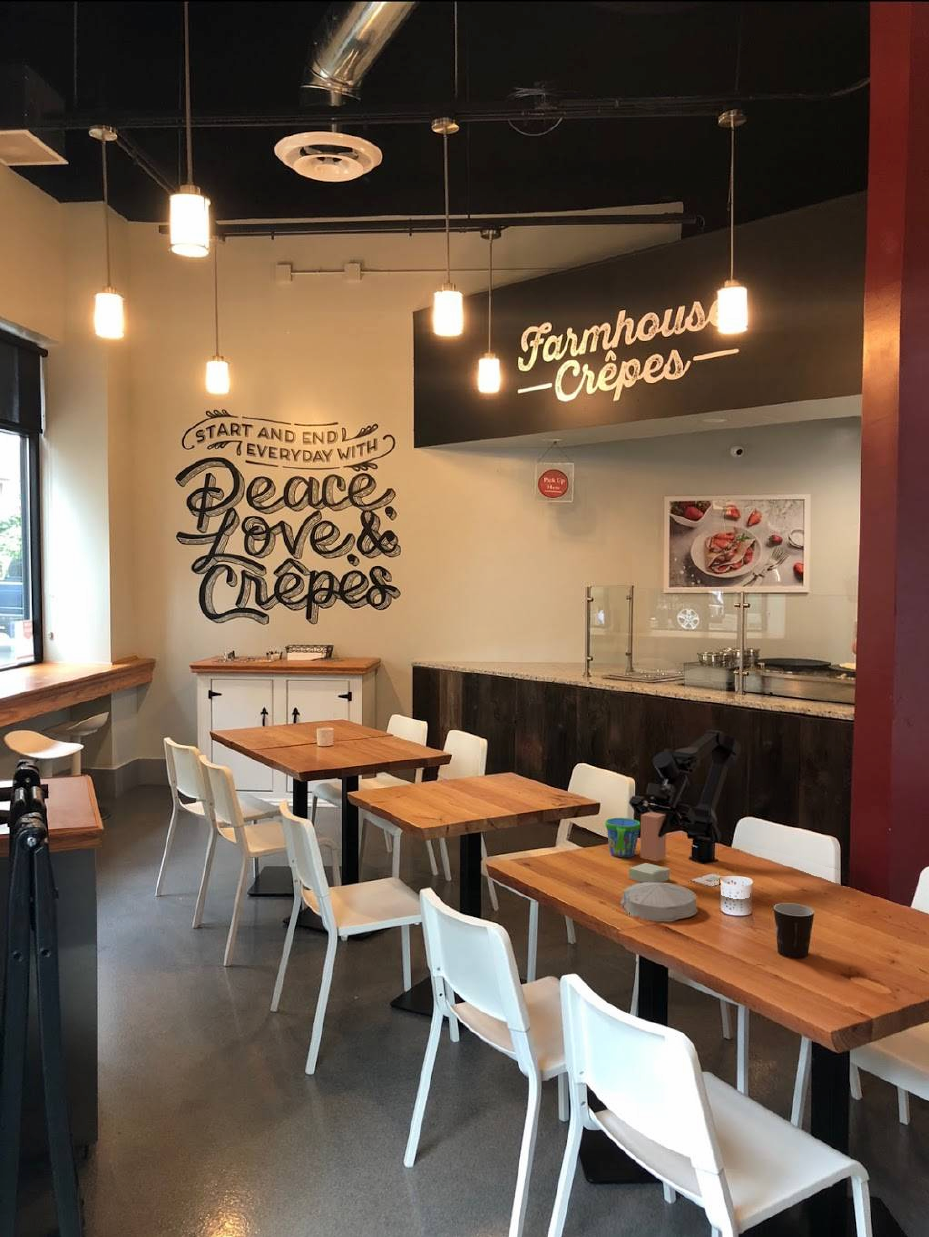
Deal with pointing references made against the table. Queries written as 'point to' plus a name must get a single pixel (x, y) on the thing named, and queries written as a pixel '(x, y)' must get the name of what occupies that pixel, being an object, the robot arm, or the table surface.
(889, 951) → the table surface
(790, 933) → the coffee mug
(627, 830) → the snack cup
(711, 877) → the page
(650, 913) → the grey round stone disc
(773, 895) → the table surface
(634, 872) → the base brick
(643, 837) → the tall brick
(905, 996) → the table surface
